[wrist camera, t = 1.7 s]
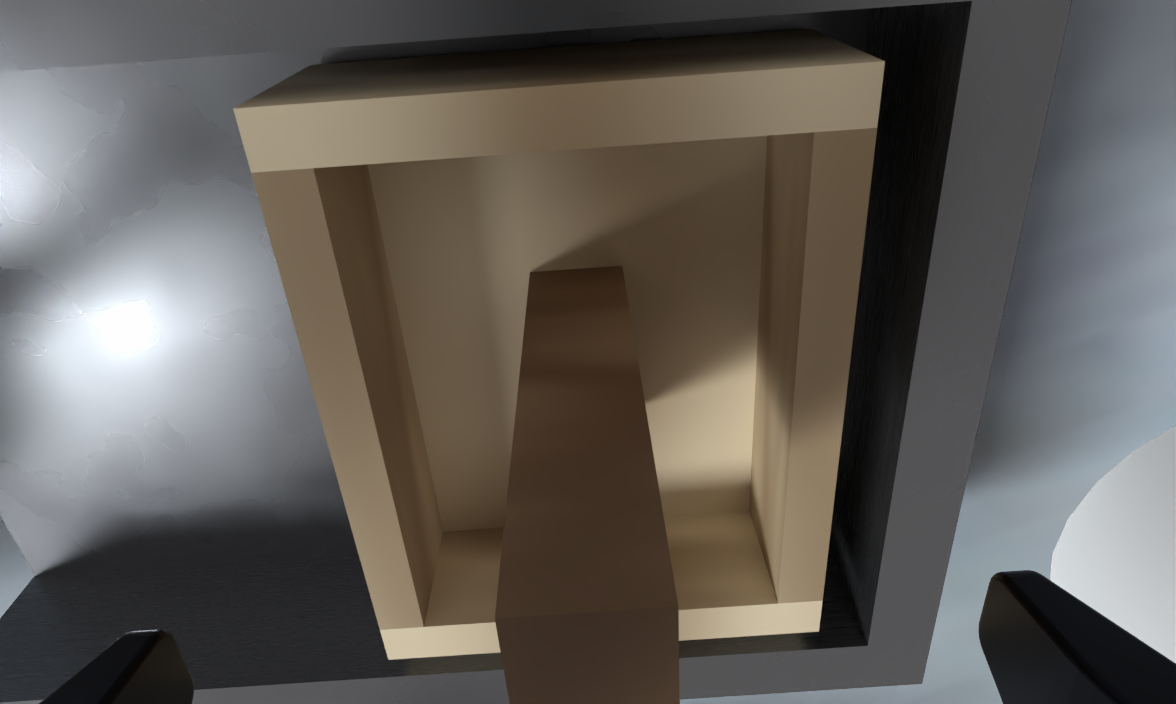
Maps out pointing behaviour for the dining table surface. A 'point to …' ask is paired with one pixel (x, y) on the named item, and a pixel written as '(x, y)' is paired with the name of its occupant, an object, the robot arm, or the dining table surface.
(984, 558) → the dining table surface
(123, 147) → the bay
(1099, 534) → the white stepped block
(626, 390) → the box
